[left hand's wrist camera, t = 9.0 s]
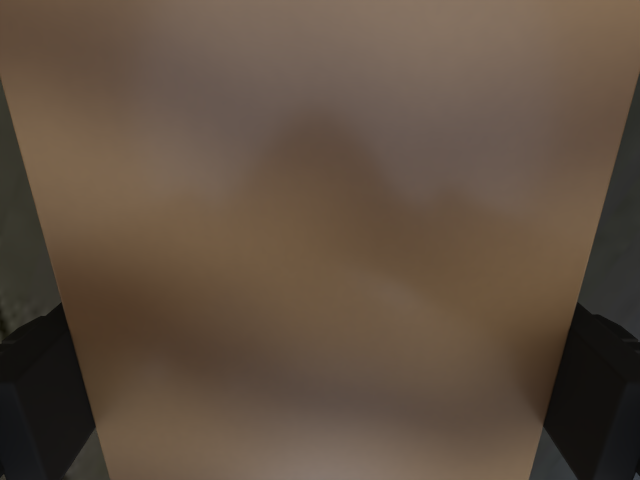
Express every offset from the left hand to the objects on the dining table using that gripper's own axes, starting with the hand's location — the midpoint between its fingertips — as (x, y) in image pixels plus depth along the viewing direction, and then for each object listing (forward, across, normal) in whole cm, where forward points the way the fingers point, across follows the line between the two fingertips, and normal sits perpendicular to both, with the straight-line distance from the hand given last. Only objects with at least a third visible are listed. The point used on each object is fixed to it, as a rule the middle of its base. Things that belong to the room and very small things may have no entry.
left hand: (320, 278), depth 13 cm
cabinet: (+4, 0, -6) cm, 7 cm away
